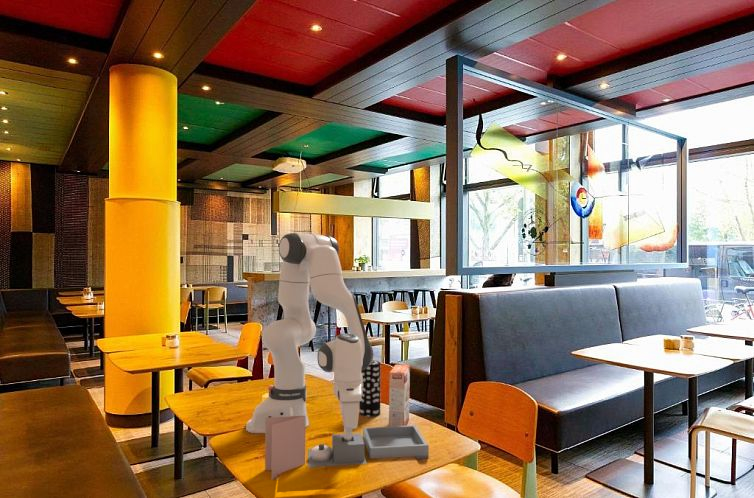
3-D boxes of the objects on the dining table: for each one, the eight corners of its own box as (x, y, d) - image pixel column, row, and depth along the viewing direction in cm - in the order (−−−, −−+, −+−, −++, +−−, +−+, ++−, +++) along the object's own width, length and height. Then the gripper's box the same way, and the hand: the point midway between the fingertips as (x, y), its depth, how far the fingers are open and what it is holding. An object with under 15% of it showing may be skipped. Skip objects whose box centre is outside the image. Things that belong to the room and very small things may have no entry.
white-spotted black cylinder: (361, 409, 194) (361, 360, 195) (381, 410, 193) (381, 360, 194) (357, 416, 186) (357, 364, 186) (378, 417, 185) (379, 365, 185)
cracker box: (405, 432, 169) (405, 372, 169) (388, 431, 170) (388, 372, 170) (410, 419, 182) (410, 364, 183) (394, 418, 184) (394, 363, 184)
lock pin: (342, 458, 144) (342, 424, 144) (341, 453, 148) (341, 420, 148) (354, 457, 145) (354, 424, 145) (353, 453, 148) (353, 420, 148)
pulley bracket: (308, 470, 138) (308, 449, 138) (307, 452, 151) (308, 433, 151) (366, 467, 140) (366, 446, 141) (361, 449, 153) (361, 430, 153)
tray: (370, 461, 144) (370, 448, 144) (363, 439, 162) (363, 427, 162) (428, 458, 147) (428, 445, 147) (415, 436, 165) (415, 425, 165)
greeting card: (305, 466, 141) (305, 414, 141) (305, 477, 134) (306, 423, 134) (265, 468, 139) (265, 416, 140) (263, 480, 132) (264, 425, 132)
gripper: (335, 380, 156) (335, 422, 156) (340, 398, 136) (339, 447, 136) (354, 379, 157) (354, 421, 157) (362, 397, 137) (362, 445, 137)
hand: (347, 433), depth 146 cm, fingers open, 4 cm apart
